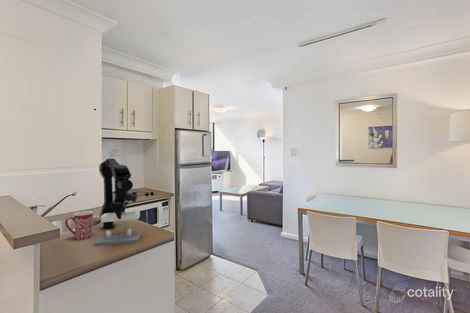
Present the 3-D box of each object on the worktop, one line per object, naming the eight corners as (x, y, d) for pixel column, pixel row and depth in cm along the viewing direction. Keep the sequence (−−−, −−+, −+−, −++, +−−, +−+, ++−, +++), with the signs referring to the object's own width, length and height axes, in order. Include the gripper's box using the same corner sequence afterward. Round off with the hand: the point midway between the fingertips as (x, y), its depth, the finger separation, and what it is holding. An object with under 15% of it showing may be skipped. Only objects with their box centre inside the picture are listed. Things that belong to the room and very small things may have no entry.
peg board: (101, 238, 122) (101, 228, 122) (140, 235, 127) (140, 225, 127) (94, 246, 112) (94, 235, 112) (137, 242, 117) (137, 231, 117)
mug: (94, 233, 130) (94, 210, 130) (91, 239, 121) (91, 214, 121) (68, 236, 125) (68, 212, 125) (63, 242, 117) (62, 216, 116)
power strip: (104, 218, 123) (104, 213, 123) (139, 216, 128) (139, 211, 128) (101, 222, 117) (100, 216, 117) (138, 219, 122) (137, 213, 122)
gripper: (133, 190, 115) (133, 220, 115) (139, 185, 133) (139, 212, 133) (109, 191, 113) (110, 222, 113) (118, 186, 131) (119, 213, 131)
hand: (121, 217), depth 122 cm, fingers closed on power strip, 6 cm apart
